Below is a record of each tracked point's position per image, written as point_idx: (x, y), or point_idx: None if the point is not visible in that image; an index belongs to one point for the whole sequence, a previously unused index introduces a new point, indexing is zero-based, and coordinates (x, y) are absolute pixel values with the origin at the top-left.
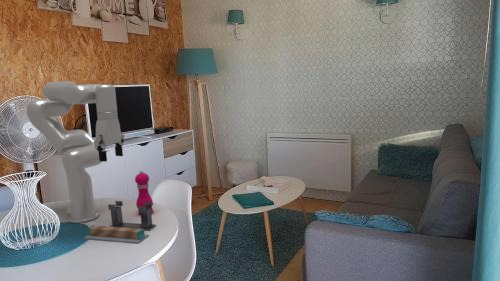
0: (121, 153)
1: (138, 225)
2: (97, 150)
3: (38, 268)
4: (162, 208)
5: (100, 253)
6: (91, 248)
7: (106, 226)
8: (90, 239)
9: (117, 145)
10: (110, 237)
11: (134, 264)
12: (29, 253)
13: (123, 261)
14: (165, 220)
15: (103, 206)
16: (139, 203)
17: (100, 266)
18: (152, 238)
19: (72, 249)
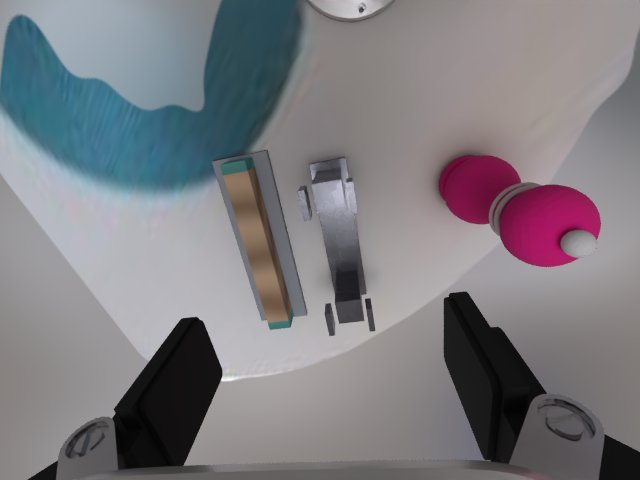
0: (456, 380)
1: (345, 252)
2: (73, 441)
3: (60, 203)
4: None
5: (185, 275)
6: (189, 233)
7: (258, 215)
8: (220, 184)
9: (509, 448)
10: None
11: None
12: (68, 85)
13: None
14: (416, 287)
15: None
16: (452, 195)
17: (152, 318)
18: (300, 327)
19: (158, 190)
